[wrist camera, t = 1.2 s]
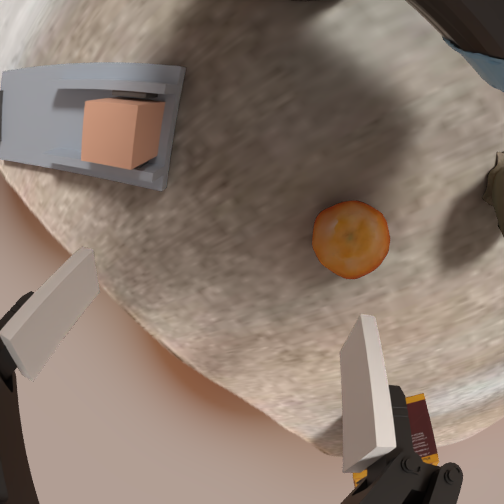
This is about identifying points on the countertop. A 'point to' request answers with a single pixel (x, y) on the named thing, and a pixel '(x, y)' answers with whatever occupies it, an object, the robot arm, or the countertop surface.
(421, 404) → the supplement box
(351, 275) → the fruit
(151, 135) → the block
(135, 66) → the chute
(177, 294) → the countertop surface
